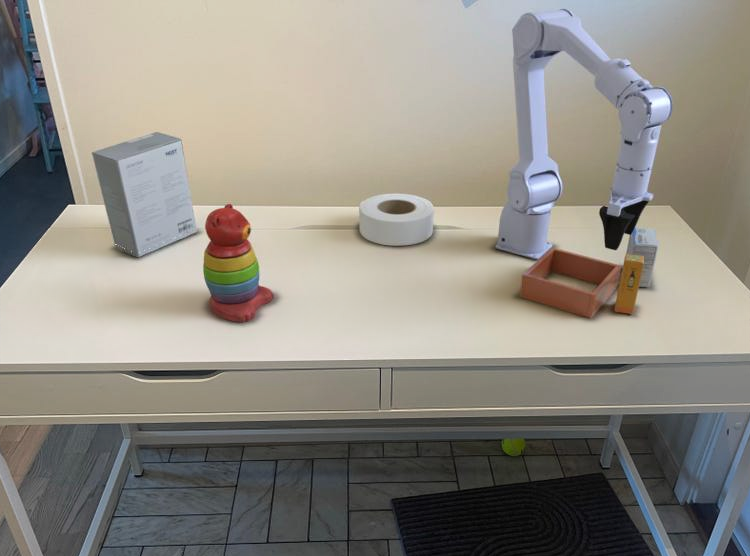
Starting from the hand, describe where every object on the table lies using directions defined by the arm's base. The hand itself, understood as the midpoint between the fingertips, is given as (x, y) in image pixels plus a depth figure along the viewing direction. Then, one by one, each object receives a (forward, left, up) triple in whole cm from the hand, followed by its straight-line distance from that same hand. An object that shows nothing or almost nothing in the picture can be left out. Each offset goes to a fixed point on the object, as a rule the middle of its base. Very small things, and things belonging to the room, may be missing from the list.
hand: (618, 240), depth 126 cm
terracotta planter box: (-6, -4, -10) cm, 13 cm away
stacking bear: (-53, -42, -11) cm, 68 cm away
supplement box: (+5, -5, -11) cm, 12 cm away
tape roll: (-47, 0, -11) cm, 48 cm away
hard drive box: (-85, -32, -11) cm, 91 cm away
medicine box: (+3, +8, -11) cm, 14 cm away
